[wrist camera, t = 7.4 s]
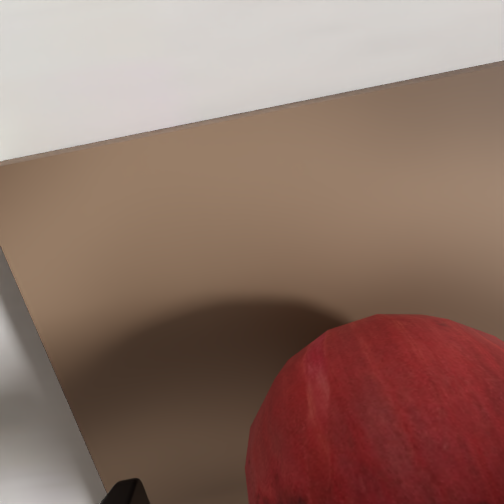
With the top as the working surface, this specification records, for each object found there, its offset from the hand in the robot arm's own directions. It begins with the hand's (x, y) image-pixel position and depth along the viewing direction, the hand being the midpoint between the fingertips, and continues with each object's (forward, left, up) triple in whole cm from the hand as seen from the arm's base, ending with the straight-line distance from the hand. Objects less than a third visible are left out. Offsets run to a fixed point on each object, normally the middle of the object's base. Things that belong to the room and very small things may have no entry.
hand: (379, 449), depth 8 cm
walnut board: (0, 0, -5) cm, 5 cm away
